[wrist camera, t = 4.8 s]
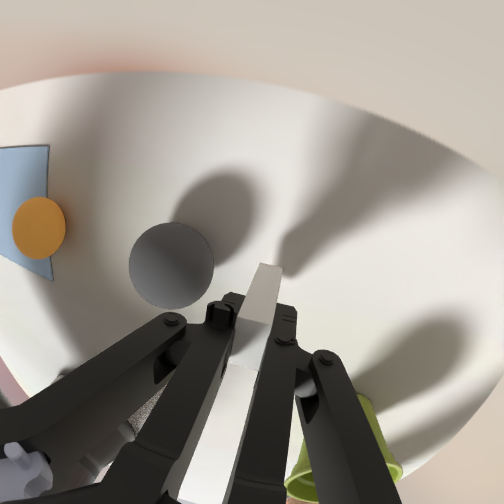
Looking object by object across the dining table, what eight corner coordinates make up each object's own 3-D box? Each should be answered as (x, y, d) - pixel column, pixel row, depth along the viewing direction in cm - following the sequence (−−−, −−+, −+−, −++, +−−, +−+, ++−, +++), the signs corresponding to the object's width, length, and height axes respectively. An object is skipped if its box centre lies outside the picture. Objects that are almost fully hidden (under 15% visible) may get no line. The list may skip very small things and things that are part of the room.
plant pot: (402, 410, 21) (417, 479, 13) (326, 445, 25) (323, 509, 17) (359, 362, 20) (373, 448, 12) (273, 406, 24) (257, 482, 15)
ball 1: (84, 236, 21) (40, 257, 16) (56, 255, 23) (17, 275, 18) (64, 181, 20) (18, 191, 15) (37, 206, 22) (-3, 219, 17)
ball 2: (236, 275, 20) (212, 315, 15) (174, 294, 21) (139, 332, 16) (204, 203, 18) (167, 220, 13) (143, 230, 20) (98, 254, 15)
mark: (49, 146, 19) (47, 146, 19) (53, 280, 24) (52, 281, 24) (-7, 149, 21) (-8, 149, 21) (-2, 252, 26) (-3, 252, 26)
